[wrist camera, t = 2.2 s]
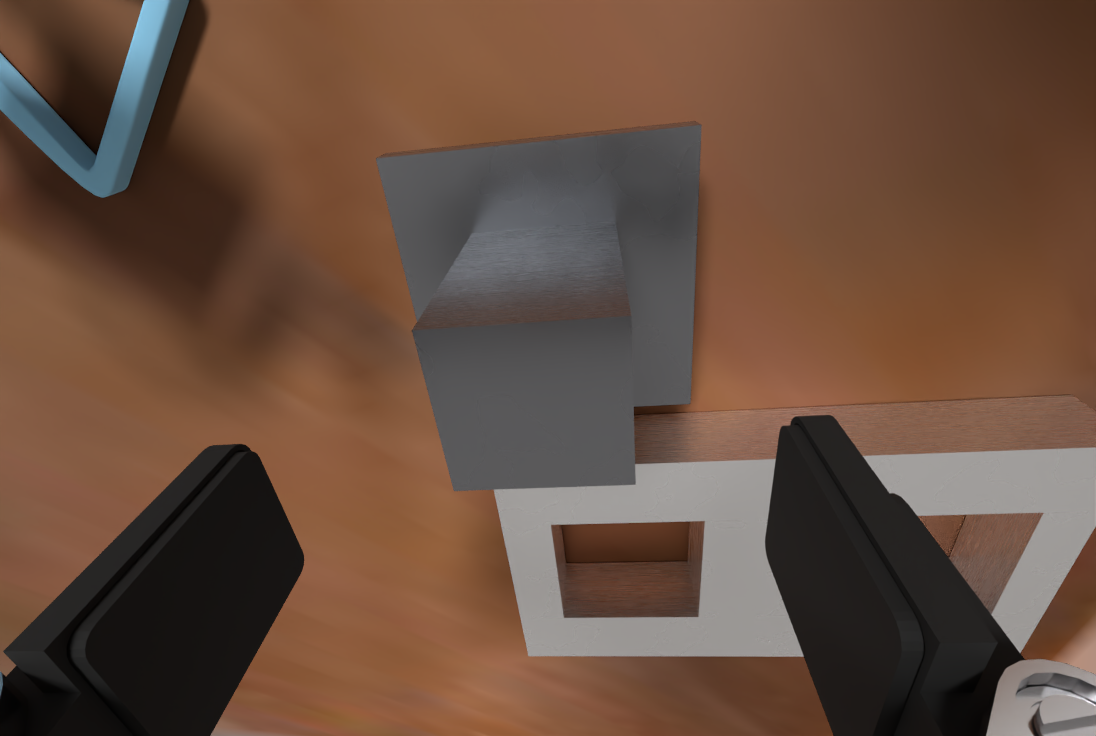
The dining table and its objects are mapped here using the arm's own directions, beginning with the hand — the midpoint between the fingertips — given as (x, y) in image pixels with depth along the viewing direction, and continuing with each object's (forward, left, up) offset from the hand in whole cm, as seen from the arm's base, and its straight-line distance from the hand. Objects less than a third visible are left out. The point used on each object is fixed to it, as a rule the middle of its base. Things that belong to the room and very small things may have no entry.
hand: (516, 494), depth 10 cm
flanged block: (-1, 0, -11) cm, 11 cm away
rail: (+12, +8, -11) cm, 18 cm away
